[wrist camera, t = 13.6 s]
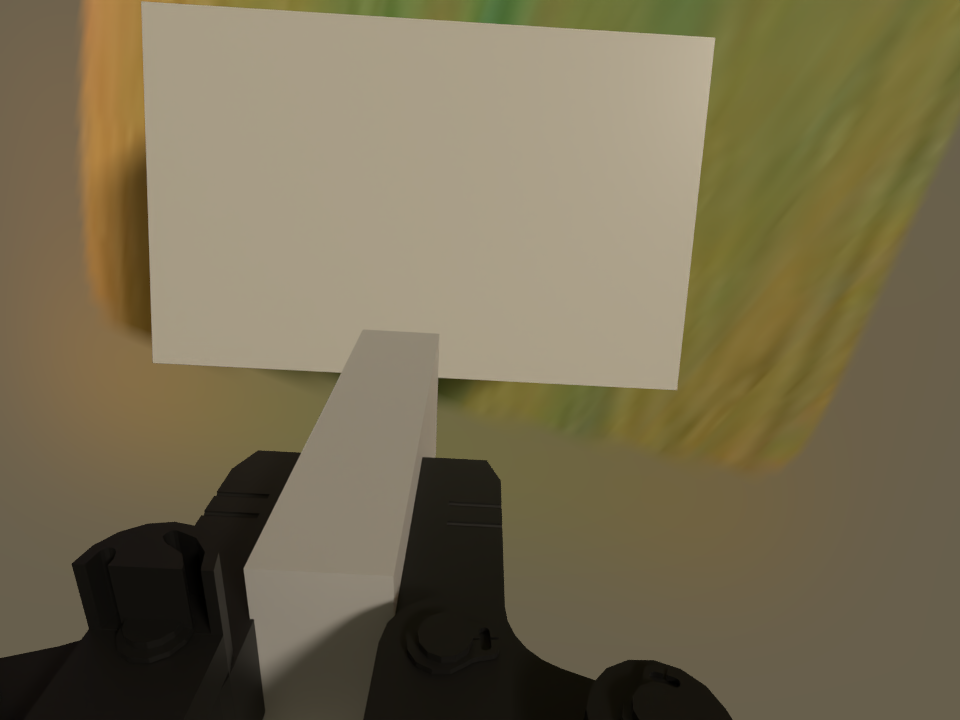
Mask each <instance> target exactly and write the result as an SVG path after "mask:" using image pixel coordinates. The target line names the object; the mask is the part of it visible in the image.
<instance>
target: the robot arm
mask: <svg viewBox="0 0 960 720" xmlns="http://www.w3.org/2000/svg"><path fill="white" fill-rule="evenodd" d="M439 335H440V334H435V333H417V332H399V331H382V330H364V329H363V330H362V332H361V334H360V336H359V338H358V340H357V342H356V344H355V346H354V348H353V350H352V352H351V354H350V356H349V358H348V360H347V362H346V364H345V366H344V368H343V370H342V372H341V374H340V376H339V378H338V380H337V382H336V384H335V386H334V388H333V390H332V392H331V394H330V396H329V399H328V400H327V403H326V405H325V407H324V408H323V411H322V412H321V415H320V417H319V418H318V420H317V423H316V424H315V427H314V429H313V430H312V432H311V434H310V436H309V438H308V440H307V442H306V445H305V447H304V449H303V450H302V452H301V453H296V452H276V451H257V452H255V453H254V454H252V455H251V456H250V457H248V458H247V459H245V460H244V461H242V462H241V463H240V464H238V465H237V466H235V467H234V468H232V470H231V471H230V473H229V474H228V476H227V477H226V479H225V481H224V482H223V483H222V485H221V487H220V488H219V489H218V491H217V496H214V497H213V499H212V500H211V502H210V503H209V505H208V506H207V508H206V509H205V513H204V516H201V517H200V518H199V520H198V521H197V523H196V525H195V526H192V525H188V524H183V523H177V522H167V523H152V524H145V525H142V526H138V527H135V528H131V529H128V530H124V531H121V532H118V533H116V534H114V535H112V536H110V537H108V538H107V539H105V540H103V541H101V542H99V543H97V544H95V545H93V546H92V547H91V548H89V550H87V551H86V552H85V553H84V554H82V555H81V556H80V557H79V558H78V559H77V560H76V561H75V562H73V563H72V567H73V571H74V574H75V578H76V581H77V586H78V589H79V593H80V597H81V600H82V604H83V608H84V612H85V615H86V619H87V623H88V626H89V630H88V632H87V633H86V634H85V636H84V637H83V638H82V640H80V641H77V642H73V643H69V644H66V645H62V646H59V647H54V648H48V649H43V650H39V651H34V652H29V653H24V654H19V655H14V656H9V657H4V658H0V720H732V718H731V717H730V715H729V713H728V712H727V711H726V709H725V708H724V706H723V705H722V704H721V703H720V702H719V701H718V700H717V698H716V697H715V696H714V695H713V694H712V693H711V691H710V690H709V689H708V688H707V687H706V686H705V685H703V684H702V683H701V682H699V681H698V680H696V679H694V678H693V677H692V676H690V675H689V674H687V673H686V672H684V671H682V670H681V669H678V668H676V667H673V666H670V665H666V664H663V663H660V662H657V661H654V660H627V661H624V662H622V663H619V664H617V665H614V666H611V667H609V668H606V670H605V671H604V672H603V673H602V674H601V675H600V676H599V677H598V678H597V679H596V680H593V679H590V678H587V677H584V676H581V675H578V674H575V673H572V672H569V671H567V670H564V669H561V668H559V667H557V666H554V665H552V664H550V663H548V662H546V661H544V660H542V659H540V658H539V657H538V656H536V655H535V654H533V653H532V652H531V651H529V650H528V649H527V648H526V647H525V646H524V645H523V644H522V643H521V641H520V640H519V639H518V638H517V637H516V636H515V634H514V633H513V631H512V629H511V627H510V625H509V623H508V621H507V616H506V611H505V601H504V570H503V538H502V509H501V481H500V479H499V478H498V476H497V475H496V473H495V472H494V470H493V469H492V468H491V466H490V465H489V463H488V462H487V461H486V460H468V459H449V458H435V454H436V429H437V398H438V367H439Z"/></svg>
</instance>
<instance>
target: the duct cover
mask: <svg viewBox="0 0 960 720" xmlns="http://www.w3.org/2000/svg"><path fill="white" fill-rule="evenodd" d="M141 6H142V38H143V70H144V102H145V133H146V165H147V197H148V229H149V260H150V292H151V324H152V356H153V363H163V364H183V365H202V366H221V367H241V368H260V369H279V370H299V371H318V372H337V373H341V372H342V370H343V368H344V366H345V364H346V362H347V360H348V358H349V356H350V354H351V352H352V350H353V348H354V346H355V344H356V342H357V340H358V338H359V336H360V334H361V332H362V330H363V329H364V330H382V331H399V332H417V333H435V334H440V335H439V367H438V378H454V379H473V380H492V381H512V382H531V383H550V384H570V385H589V386H608V387H628V388H647V389H667V390H677V384H678V375H679V365H680V356H681V347H682V338H683V329H684V320H685V310H686V301H687V292H688V283H689V274H690V265H691V255H692V246H693V237H694V228H695V219H696V209H697V200H698V191H699V182H700V173H701V164H702V154H703V145H704V136H705V127H706V118H707V108H708V99H709V90H710V81H711V72H712V63H713V53H714V44H715V38H710V37H695V36H679V35H663V34H647V33H631V32H615V31H600V30H584V29H568V28H552V27H536V26H520V25H505V24H489V23H473V22H457V21H441V20H425V19H410V18H394V17H378V16H362V15H346V14H330V13H315V12H299V11H283V10H267V9H251V8H235V7H220V6H204V5H188V4H172V3H156V2H141Z"/></svg>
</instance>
